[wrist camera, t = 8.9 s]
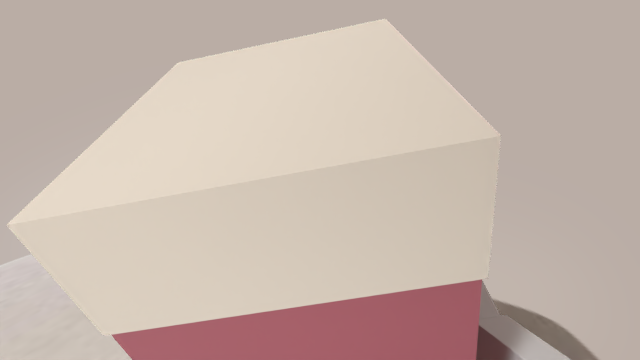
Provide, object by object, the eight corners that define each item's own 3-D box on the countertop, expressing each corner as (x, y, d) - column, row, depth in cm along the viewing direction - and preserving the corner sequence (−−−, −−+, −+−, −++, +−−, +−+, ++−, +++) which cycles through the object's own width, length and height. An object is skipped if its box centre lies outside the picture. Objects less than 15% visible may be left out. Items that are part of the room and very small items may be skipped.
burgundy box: (312, 573, 13) (5, 224, 4) (311, 390, 18) (178, 62, 9) (463, 560, 12) (501, 136, 3) (417, 376, 17) (385, 18, 9)
